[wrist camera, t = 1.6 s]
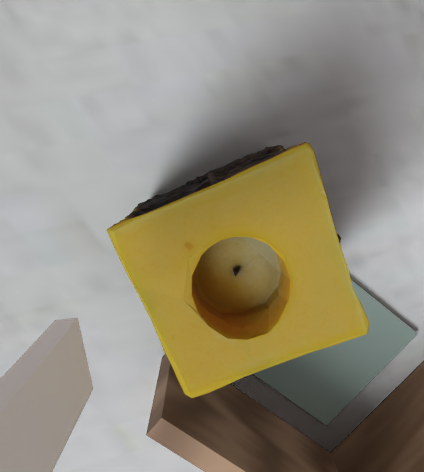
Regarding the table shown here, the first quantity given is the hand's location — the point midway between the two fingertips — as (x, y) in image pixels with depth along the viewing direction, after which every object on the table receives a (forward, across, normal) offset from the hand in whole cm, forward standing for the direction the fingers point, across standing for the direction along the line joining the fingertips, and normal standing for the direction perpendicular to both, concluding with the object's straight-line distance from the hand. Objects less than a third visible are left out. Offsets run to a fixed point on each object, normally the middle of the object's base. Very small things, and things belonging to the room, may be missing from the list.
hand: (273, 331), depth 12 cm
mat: (+15, +6, -10) cm, 19 cm away
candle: (+15, 0, 0) cm, 15 cm away
